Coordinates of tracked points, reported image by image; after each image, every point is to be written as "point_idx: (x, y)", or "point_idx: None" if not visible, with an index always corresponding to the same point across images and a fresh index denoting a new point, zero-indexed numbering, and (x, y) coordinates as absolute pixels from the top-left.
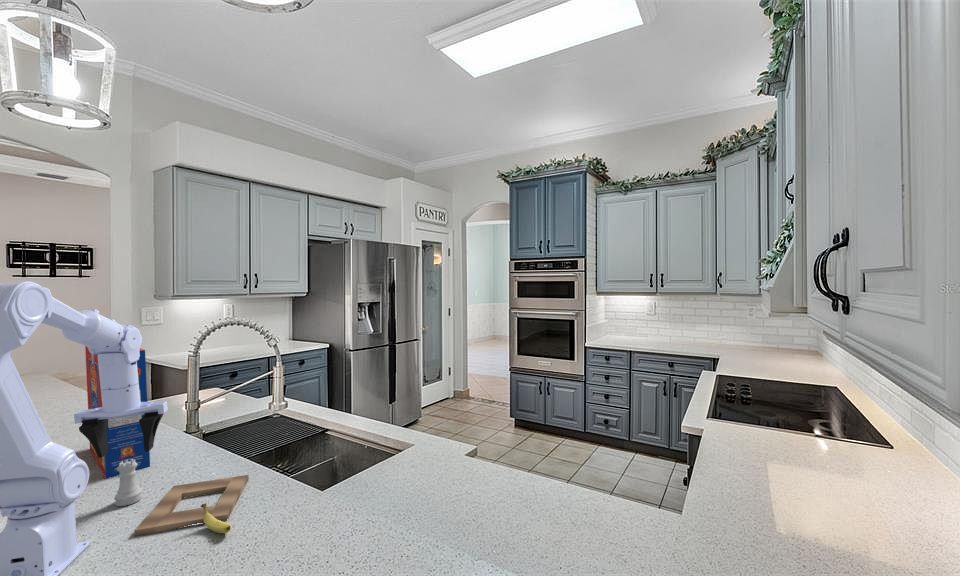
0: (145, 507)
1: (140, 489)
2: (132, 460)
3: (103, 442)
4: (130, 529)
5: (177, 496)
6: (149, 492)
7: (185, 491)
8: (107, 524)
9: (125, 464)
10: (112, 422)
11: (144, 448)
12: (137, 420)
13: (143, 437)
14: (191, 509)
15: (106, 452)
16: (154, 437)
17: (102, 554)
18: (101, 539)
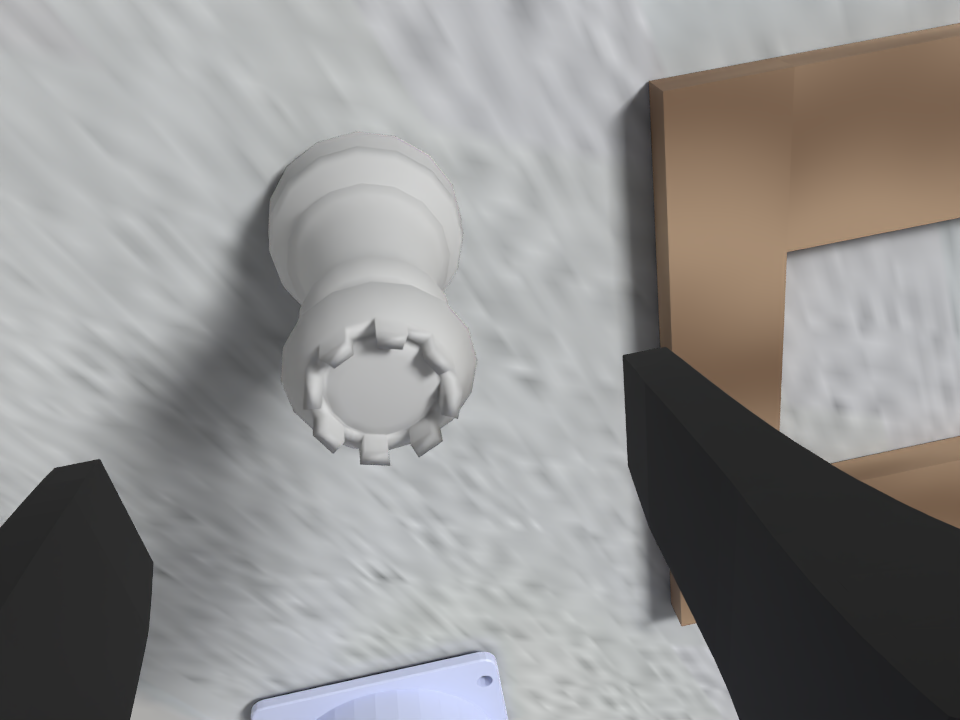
0: (558, 328)
1: (447, 215)
2: (403, 336)
3: (72, 665)
4: (612, 549)
5: (769, 299)
6: (439, 68)
7: (802, 226)
8: (440, 496)
9: (391, 425)
10: None
11: (645, 510)
12: None
13: (718, 665)
14: (906, 472)
15: (110, 500)
16: (743, 410)
17: (601, 700)
18: (515, 614)
